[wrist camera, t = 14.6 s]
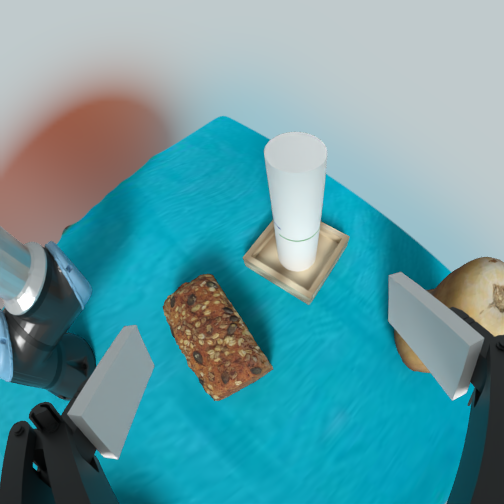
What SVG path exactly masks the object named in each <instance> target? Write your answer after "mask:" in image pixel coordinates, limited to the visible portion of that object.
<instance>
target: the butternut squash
mask: <svg viewBox="0 0 504 504" xmlns="http://www.w3.org/2000/svg"><path fill="white" fill-rule="evenodd" d="M426 291H427V292H429V293H430V294H431V295H432V296H434V297H435V298H436V299H438V300H439V301H440V302H441V303H443V304H444V305H445V306H447V307H448V308H451V307H455V308H458V309H460V310H463V311H464V312H465V313H466V314H468V315H469V317H471V318H473V319H474V320H475V322H478V323H479V324H480V325H481V326H483V327H484V328H485V329H486V330H488V331H489V332H490V333H491V334H492V335H494V336H497V335H504V262H502V261H501V260H498V259H495V258H490V257H482V258H478V259H475V260H472V261H470V262H468V263H466V264H464V265H463V266H461V267H460V268H458V269H456V270H454V271H453V272H452V273H450V274H449V275H448V276H447V277H446V278H445V279H443V281H442V282H441V283H440V284H439V285H438V286H437V287H436V288H435V289H431V290H426ZM394 338H395V344H396V347H397V351H398V353H399V354H400V356H401V358H402V361H403V362H404V363H405V365H406V366H407V367H408V368H410V369H411V370H413V371H419V372H427V373H431V372H430V371H429V370H428V369H427V367H426V366H425V365H424V364H423V362H422V361H421V360H420V359H419V357H418V356H417V355H416V354H415V353H414V351H413V350H412V349H411V348H410V346H409V345H408V344H407V343H406V342H405V340H404V339H403V338H402V337H401V336H400V334H399V333H398V332H397V331H396V330H395V329H394Z"/></svg>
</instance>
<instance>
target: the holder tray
mask: <svg viewBox="0 0 504 504" xmlns="http://www.w3.org/2000/svg"><path fill="white" fill-rule="evenodd" d="M348 240H349V236H348V235H346V234H344V233H342V232H340V231H338V230H336V229H334V228H333V227H331V226H329V225H327V224H325V223H323V222H320V231H319V239H318V246H317V254H316V259H315V262H314V263H313V265H312V266H311V267H310V268H308V269H306V270H304V271H299V272H295V271H290V270H288V269H286V268H285V267H283V266H282V264H281V263H280V261H279V259H278V252H277V244H276V237H275V229H274V221H273V220H272V222H271V223H270V224H269V225H268V227H267V228H266V229H265V230H264V232H263V233H262V234H261V235H260V237H259V238H258V239H257V240H256V242H255V243H254V244H253V245H252V247H251V248H250V249H249V250H248V251H247V253H246V254H245V255H244V256H243V260H244V262H245V265H246V266H247V267H248V268H250V269H252V270H253V271H255V272H256V273H258V274H260V275H261V276H263V277H264V278H266V279H268V280H269V281H271V282H272V283H274V284H276V285H277V286H279V287H280V288H282V289H284V290H285V291H287V292H289V293H290V294H292V295H293V296H295V297H297V298H298V299H300V300H302V301H303V302H305V303H306V304H308V305H310V303H311V302H312V300H313V299H314V297H315V296H316V294H317V292H318V291H319V289H320V288H321V286H322V285H323V283H324V282H325V280H326V279H327V277H328V275H329V274H330V272H331V271H332V269H333V267H334V266H335V264H336V263H337V261H338V259H339V258H340V256H341V254H342V253H343V251H344V250H345V248H346V246H347V243H348Z"/></svg>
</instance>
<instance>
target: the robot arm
mask: <svg viewBox="0 0 504 504" xmlns="http://www.w3.org/2000/svg"><path fill="white" fill-rule="evenodd" d="M91 294H92V287H91V285H90V283H89V282H88V281H87V279H86V278H85V277H84V276H83V275H82V273H81V272H80V271H79V270H78V269H77V268H76V266H75V265H74V264H73V263H72V262H71V261H70V259H69V258H68V257H67V256H66V255H65V254H64V253H63V251H62V250H61V249H60V248H59V247H58V246H57V245H56V244H55V243H54V242H52V241H50V242H49V243H48V244H45V248H44V247H42V246H41V245H40V244H38V243H35V242H29V243H26V244H24V245H23V244H22V243H21V242H19V241H18V240H17V239H16V238H14V237H13V236H12V235H11V234H9V233H8V232H7V231H6V230H4V229H3V228H2V227H1V226H0V297H1V298H2V300H3V304H4V306H5V308H4V310H3V311H2V310H1V309H0V378H1V379H4V380H5V381H7V382H13V383H17V384H22V385H27V386H32V387H38V388H43V389H46V390H48V391H49V392H51V393H52V394H54V395H56V396H57V397H59V398H61V399H63V400H68V401H70V402H69V404H68V405H67V407H66V408H65V410H64V412H63V413H62V415H61V416H60V414H59V413H58V412H57V411H56V409H55V408H54V406H53V405H52V404H51V403H49V402H43V403H40V404H38V405H36V406H35V407H34V408H33V409H32V410H31V412H30V414H29V419H30V420H31V421H32V422H33V423H34V425H35V426H36V427H37V428H38V429H33V428H32V427H31V426H30V425H29V424H28V422H26V421H20V422H17V423H16V424H14V425H13V427H12V428H11V430H10V432H9V436H8V441H7V445H6V450H5V456H4V461H3V468H2V475H1V482H0V504H119V502H118V500H117V498H116V496H115V494H114V493H113V491H112V489H111V487H110V485H109V482H108V480H107V478H106V476H105V474H104V472H103V470H102V467H101V465H100V463H99V460H98V459H97V457H96V456H95V455H94V454H95V451H96V449H97V450H98V451H99V452H100V453H101V455H102V456H103V457H106V458H113V459H119V456H120V453H121V451H122V448H123V445H124V442H125V440H126V437H127V434H128V432H129V429H130V426H131V424H132V421H133V418H134V416H135V413H136V411H137V408H138V405H139V403H140V400H141V398H142V395H143V393H144V390H145V388H146V385H147V383H148V380H149V378H150V376H151V373H152V371H153V368H154V364H153V362H152V360H151V357H150V355H149V353H148V351H147V349H146V347H145V344H144V342H143V340H142V338H141V335H140V333H139V331H138V328H137V326H136V325H132V326H124V327H123V329H122V330H121V332H120V333H119V334H118V336H117V337H116V339H115V340H114V342H113V343H112V345H111V346H110V348H109V349H108V351H107V352H106V353H105V355H104V356H103V358H102V359H101V361H100V362H99V364H98V366H97V367H96V365H95V359H94V355H93V352H92V350H91V348H90V346H89V345H88V343H87V342H86V341H85V340H84V339H83V338H81V337H79V336H77V335H74V334H72V333H66V331H67V330H68V329H69V327H70V326H71V325H72V323H73V322H74V320H75V319H76V318H77V316H78V315H79V314H80V312H81V311H82V310H83V309H84V306H85V304H86V303H87V301H88V300H89V298H90V297H91ZM388 322H389V323H390V324H391V325H392V326H393V327H394V329H395V330H396V331H397V332H398V333H399V334H400V336H401V337H402V338H403V339H404V340H405V342H406V343H407V344H408V345H409V346H410V348H411V349H412V350H413V351H414V353H415V354H416V355H417V356H418V357H419V359H420V360H421V361H422V362H423V364H424V365H425V366H426V367H427V369H428V370H429V371H430V372H431V374H432V375H433V376H434V378H435V379H436V380H437V381H438V383H439V384H440V385H441V387H442V388H443V389H444V390H445V392H446V393H447V394H448V396H449V397H450V398H451V400H452V401H453V400H454V399H456V398H458V397H460V396H462V395H463V394H465V393H466V392H467V390H468V387H469V384H470V382H471V383H472V384H473V386H474V387H475V388H474V391H473V393H472V395H471V398H470V400H469V403H468V405H467V406H470V404H471V411H470V417H469V423H468V429H467V434H466V439H465V444H464V448H463V452H462V456H461V460H460V464H459V468H458V471H457V475H456V478H455V481H454V484H453V487H452V490H451V493H450V496H449V499H448V501H447V504H504V335H497V336H494V335H492V334H491V333H490V332H489V331H488V330H486V329H485V328H484V327H483V326H481V325H480V324H479V323H478V322H475V320H474V319H473V318H471V317H469V315H468V314H466V313H465V312H464V311H463V310H460V309H458V308H455V307H451V308H448V307H447V306H445V305H444V304H443V303H441V302H440V301H439V300H438V299H436V298H435V297H434V296H432V295H431V294H430V293H429V292H427V291H426V290H425V289H423V288H422V287H421V286H419V285H418V284H417V283H415V282H414V281H413V280H411V279H410V278H409V277H407V276H406V275H405V274H403V273H402V272H399V273H395V274H391V275H389V307H388ZM471 402H472V403H471ZM33 462H34V463H35V464H36V465H37V466H38V469H37V471H36V470H35V469H34V468H33Z"/></svg>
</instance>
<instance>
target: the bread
mask: <svg viewBox="0 0 504 504" xmlns="http://www.w3.org/2000/svg"><path fill="white" fill-rule="evenodd" d="M163 310H164V315H165V316H166V319H167V322H168V324H169V325H170V329H171V333H172V335H173V337H174V338H175V340H176V343H177V345H179V348H180V349H181V351H182V353H183V354H184V355H185V357H186V359H187V363H188V366H189V368H191V369H192V370H193V371H194V372H195V374H196V375H197V377H198V378H199V382H200V384H201V385H202V386H203V388H204V390H205V391H206V392H207V393H208V394H209V395H210V396H211V397H212V398H213V399H214V401H215V400H216V401H219V400H222V399H224V398H226V397H228V396H230V395H232V394H233V393H235V392H237V391H239V390H240V389H242V388H244V387H246V386H248V385H249V384H251V383H254V382H255V381H257V380H258V379H260V378H261V377H263V376H264V375H266V374H267V373H268V372H270V371H271V370H273V367H272V365H271V364H270V363H269V361H268V359H267V357H266V356H265V355H264V353H263V352H262V351H261V349H260V347H259V346H258V345H257V343H256V342H255V340H254V338H253V336H252V335H251V333H250V332H249V331H248V328H247V326H246V325H245V323H244V322H243V321H242V318H241V317H240V316H239V314H238V312H237V311H236V310H235V308H234V307H233V306H232V304H231V302H230V301H229V300H228V299H227V297H226V295H225V293H224V291H223V290H222V289H221V287H220V285H219V284H218V282H217V280H216V279H215V278H214V276H213V275H211V274H204V275H200V276H198V277H197V278H196V279H194V280H192V281H191V282H189V283H187V282H186V283H184V284H182V285H181V286H180V287H179V288H178V289H177V290H176V292H174V293H173V294H172V295H169V296H168V297H167V299H166V300H165V302H164V306H163Z"/></svg>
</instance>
